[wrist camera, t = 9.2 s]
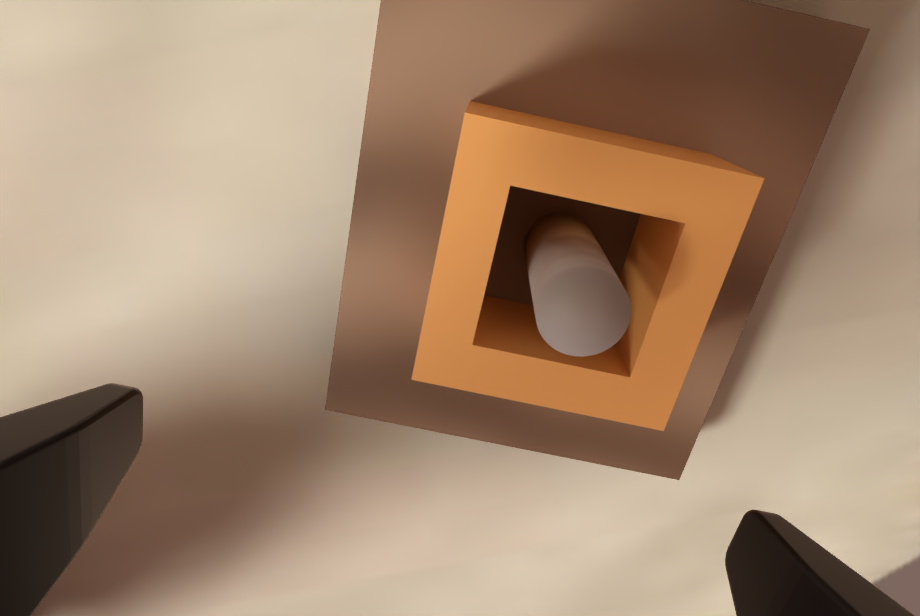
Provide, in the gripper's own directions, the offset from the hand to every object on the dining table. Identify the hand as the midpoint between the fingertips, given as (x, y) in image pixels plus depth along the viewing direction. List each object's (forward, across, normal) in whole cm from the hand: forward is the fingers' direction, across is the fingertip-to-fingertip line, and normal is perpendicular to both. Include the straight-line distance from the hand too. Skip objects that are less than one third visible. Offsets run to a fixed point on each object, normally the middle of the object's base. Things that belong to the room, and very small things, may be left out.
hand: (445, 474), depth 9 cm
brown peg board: (+12, -2, -1) cm, 12 cm away
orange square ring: (+10, -2, -1) cm, 10 cm away
